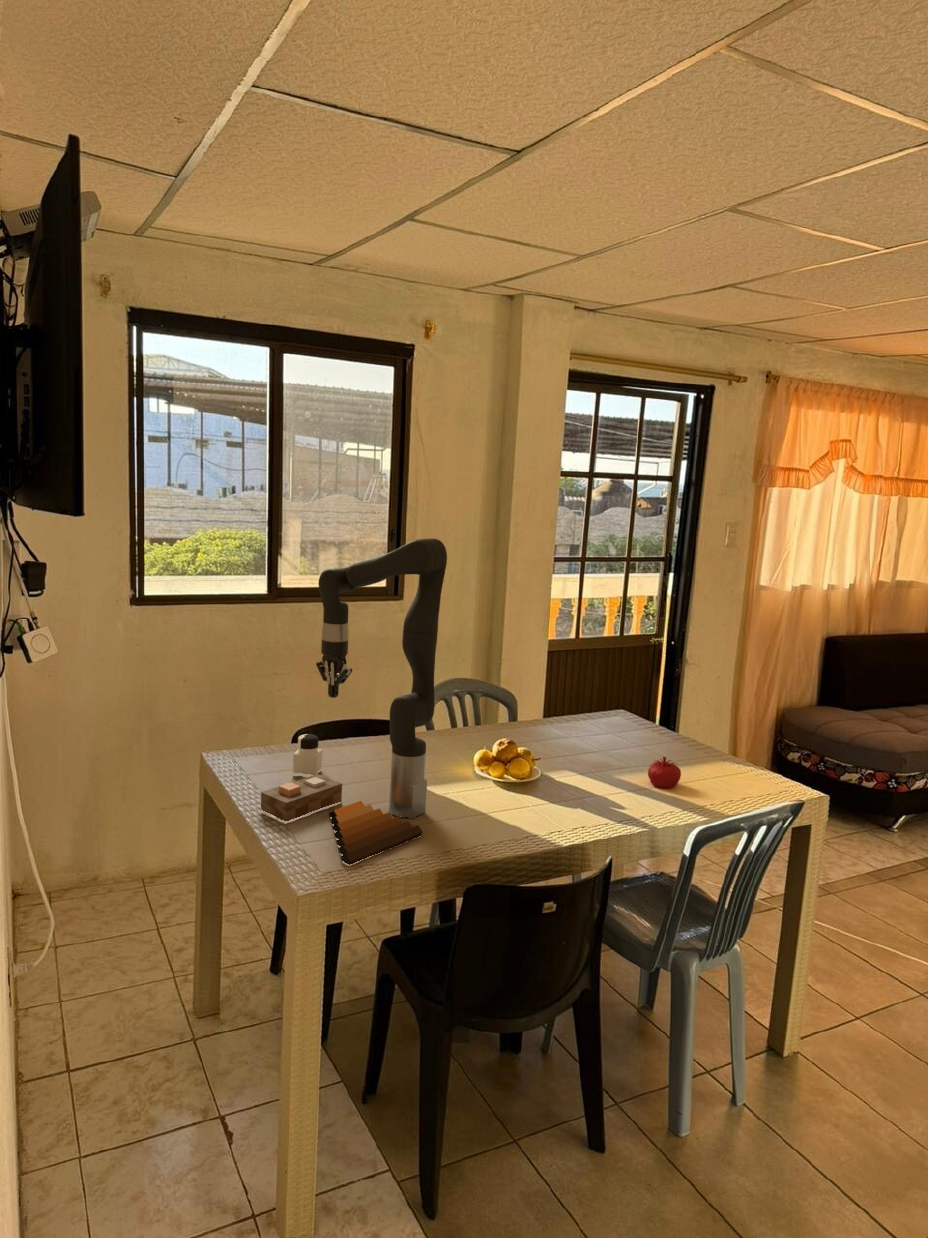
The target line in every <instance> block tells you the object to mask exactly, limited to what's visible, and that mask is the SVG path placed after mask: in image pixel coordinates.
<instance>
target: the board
mask: <svg viewBox="0 0 928 1238" xmlns="http://www.w3.org/2000/svg"><path fill="white" fill-rule="evenodd" d="M314 777H317V778H319V779H322V780H325V785H322V786H319V787H316V788H313V787H311V786H308V785H305V780H308V779H311V778H314ZM291 783H294V784H296V785H299V786H301V792H300V793H298V794H295V795H292V796H289V797H288V796H286V795H284V794H281V793H279V786H277V787H273V788H270V789H268V790H264V791H261V792H260V810H261V809H262V810H263V811H265V812H267V813H270V814H272V815H274V816H276V817H277V818H280V819H281V820H284V821H289V820H291V819H294V818H297V817H300V816H302V815H305V814H307V813H309V812H312V811H315V810H318V809H320V808H323V807H326V806H329V805H332V804H335V803H338V802H341V803H342V802H343V801H342V797H343V795H342V794H343V783H341V782H340V781H337V780H334V779H331V778H328V777H326V776H323V775H320V774H319V775H318V774H316V775H313V776H310V777H307V778H304V777H303V778H301V779H298V780H295V781H291Z"/></svg>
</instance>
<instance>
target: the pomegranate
mask: <svg viewBox="0 0 928 1238" xmlns="http://www.w3.org/2000/svg"><path fill="white" fill-rule="evenodd" d="M670 761H671V762H670ZM672 761H673V760H671V759H669V760H667V757H666V756H662V758H659V760H654V762H653V763H651V765H650V766H649V768H648V770H647V776H648V779H649V780H650V781H649V782H650V783H651V784H652V786H653V787H656V788H662V789H671V788H674V787H676V786H677V785H678V783H679V782H680V781H681V780H680V779H681V777H682V772H681V771H682V770H681V769H680V767H679V766H677V765H678V764H676V763H675V762H672Z"/></svg>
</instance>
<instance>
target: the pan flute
mask: <svg viewBox="0 0 928 1238" xmlns="http://www.w3.org/2000/svg"><path fill="white" fill-rule="evenodd" d="M329 816H330V817H332V819H330V823H332V824H334V826H332V825H331V827H332V831H333V830H335V831H337V832H336V833H334V832H333V834H334V838H335V837H336V838H338V839H339V840H335V841H336V846H337V845H339V846H341V847H340V848H338V847H337V848H338V854H339V853H341V854H343V856H340V861H341V860H342V861H344V862H345V863H347V864H349V865H350V864H353V863H355V862H357V861H360V860H362V859H365V858H367V857H369V856H372V855H375V854H378V853H380V852H382V851H385V850H388V849H390V848H393V847H395V846H398V845H400V844H402V845H404V844H403V843H405V842H407V841H409V842H411V841H410V840H412V839H414V838H417V837H419V836H421V837H422V835H423V832H424V831H423V829H422V828H421V827H420V825H419V824H416V825H412V824H411V822H410V821H409V820H406V821H404V822H403V821H402V819H401V817H399V816H395V817H393V816H392V814H391V813H390V812H386V813H383V811H382V809H380V808H377V809H376V808H375V809H374V807H373V806H372V805H371V804H368V805H365V804H364V803H363V802H362V800H359V801H357V802H353V803H351V804H347V805H345V806H342V807H339V808H336V809H333V810H332V811H329V812H328V817H329ZM330 817H329V818H330ZM419 838H420V837H419ZM417 839H418V838H417ZM414 840H415V839H414ZM412 841H413V840H412ZM407 843H408V842H407ZM405 844H406V843H405ZM400 846H401V845H400ZM398 847H399V846H398ZM395 848H396V847H395ZM393 849H394V848H393ZM390 850H391V849H390ZM388 851H389V850H388Z"/></svg>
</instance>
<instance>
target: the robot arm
mask: <svg viewBox="0 0 928 1238" xmlns="http://www.w3.org/2000/svg"><path fill="white" fill-rule="evenodd" d="M447 562H448V553H447V549H446V546H445V544H444V543H443V542H442V541H441V540H440V539H437V538H419V539H414V540H412V541H409V542H408V543H406V544H404V545H401V546H400V547H398V548H396V549H394V550H392V551H390V552H388V553H384V554H381V555H378V556H374V557H370V558H366V559H362V560H359V561H356V562H355V561H354V562H353V563H350V565H348V566H345V567H336V568H335V567H334V568H327V569H324V570H323V571H322V572H321V574H320V575H319V578H318V590H319V594H320V599H321V604H322V608H323V614H322V616H323V620H322V621H323V622H322V627H321V645H320V646H321V648H320V649H321V650H320V653H321V654H322V657H321V660H320V661H317V662H316V663H315V665H316V668H317V669H318V671H319V674H320V676H321V678H322V681H323V682H326V684H327V695H328V697H329V698H331V699H335V698H338V696H339V689H340V688H339V686H340V685H341V684H345V682H346V681H347V680H348V679H349V677H350V675H351V674H352V673H353V668H351V667H348V665H347V658H346V657H347V655H348V654H349V630H350V629H349V605H348V603H346V602H345V601H341V600H340V595H339V594H340V593H341V594H342V593H343V594H344V593H348V592H352V591H355V590H356V589H359V588H363V587H367V586H371V585H374V584H378V583H381V582H383V581H385V580H387V579H389V578H391V577H395V576H396V577H397V576H403V575H406V576H407V575H419V577H418V586H417V590H416V593H415V596H414V598H413V601H412V602H411V605H410V606H409V608H408V611H407V612H406V615H405V617H404V621H403V629H402V639H401V641H402V642H401V645H402V650H403V653H404V656H405V658H406V660H407V663H408V665H409V667H410V669H411V672H412V685H411V691H410V692H411V693H408V694H404V695H400V696H397V697H395V698H394V699H393V700H392V702H391V704H390V709H389V739H390V744H391V759H390V760H391V763H390V764H391V765H390V781H389V783H390V785H389V808H388V811H390V812H391V813H392V814H391V813H390V812H389V813H390V814H391V815H393V814H394V815H393V816H395V815H397V816H396V817H398V816H401V817H400V818H405V817H408V818H407V819H411V818H412V819H414V818H416V816H417V817H419V816H421V815H424V814H425V813H426V811H427V810H426V808H427V791H428V790H427V789H428V788H427V787H428V780H427V779H425V776H426V775H425V774H426V773H425V771H426V755H427V743H426V742H425V740H424V739H422V738H420V737H416V728H419V727H422V726H426V725H428V724H429V723H430V722H431V721H432V720H433V718H434V714H435V703H436V702H435V670H436V669H435V667H436V651H437V644H438V635H439V617H440V610H441V609H440V608H441V598H442V590H443V584H444V579H445V575H446V570H447V569H446V568H447V565H448V563H447ZM423 813H424V814H423Z"/></svg>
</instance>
